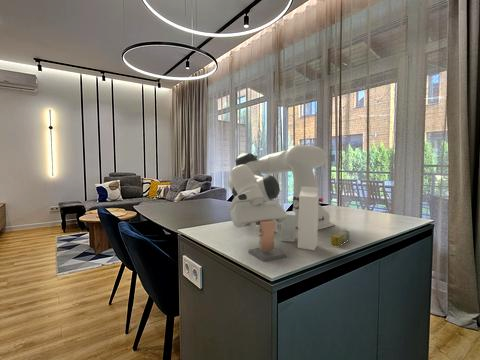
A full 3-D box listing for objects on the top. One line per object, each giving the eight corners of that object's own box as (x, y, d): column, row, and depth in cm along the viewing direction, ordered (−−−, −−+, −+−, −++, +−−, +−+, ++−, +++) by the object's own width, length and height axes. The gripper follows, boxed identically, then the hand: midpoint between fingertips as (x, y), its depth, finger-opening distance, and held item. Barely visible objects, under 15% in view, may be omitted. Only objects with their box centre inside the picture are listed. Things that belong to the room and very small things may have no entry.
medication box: (342, 239, 107) (342, 229, 106) (349, 240, 105) (349, 230, 105) (331, 246, 97) (331, 235, 97) (338, 248, 96) (338, 237, 95)
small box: (295, 242, 101) (295, 215, 100) (280, 241, 102) (281, 214, 101) (294, 236, 109) (295, 211, 108) (281, 235, 110) (281, 210, 109)
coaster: (270, 248, 93) (270, 245, 93) (286, 256, 85) (286, 253, 85) (248, 252, 89) (248, 249, 89) (263, 261, 81) (263, 258, 81)
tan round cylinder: (267, 245, 90) (268, 219, 90) (276, 249, 86) (277, 222, 86) (256, 247, 88) (257, 220, 87) (264, 251, 84) (265, 223, 83)
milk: (314, 250, 92) (316, 188, 90) (297, 248, 94) (299, 187, 93) (317, 245, 97) (319, 186, 96) (300, 243, 100) (302, 185, 98)
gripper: (272, 204, 101) (288, 235, 93) (224, 207, 91) (237, 243, 83) (280, 194, 97) (297, 226, 89) (230, 196, 87) (245, 233, 79)
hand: (268, 234), depth 86 cm, fingers closed on tan round cylinder, 5 cm apart
